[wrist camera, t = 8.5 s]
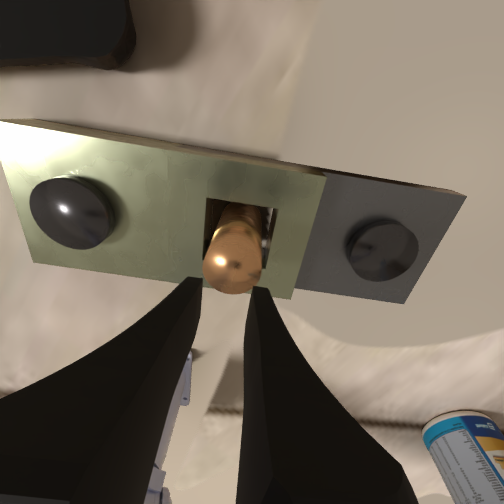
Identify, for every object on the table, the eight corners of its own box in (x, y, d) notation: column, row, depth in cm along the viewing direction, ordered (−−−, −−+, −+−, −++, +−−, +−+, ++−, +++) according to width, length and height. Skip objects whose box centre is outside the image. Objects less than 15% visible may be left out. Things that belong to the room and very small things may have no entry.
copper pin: (259, 239, 19) (258, 296, 13) (221, 236, 19) (203, 292, 13) (263, 201, 18) (264, 246, 12) (221, 198, 18) (201, 242, 12)
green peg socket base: (394, 292, 22) (420, 327, 18) (62, 243, 20) (21, 270, 17) (451, 190, 17) (500, 209, 14) (33, 118, 16) (-32, 119, 12)
